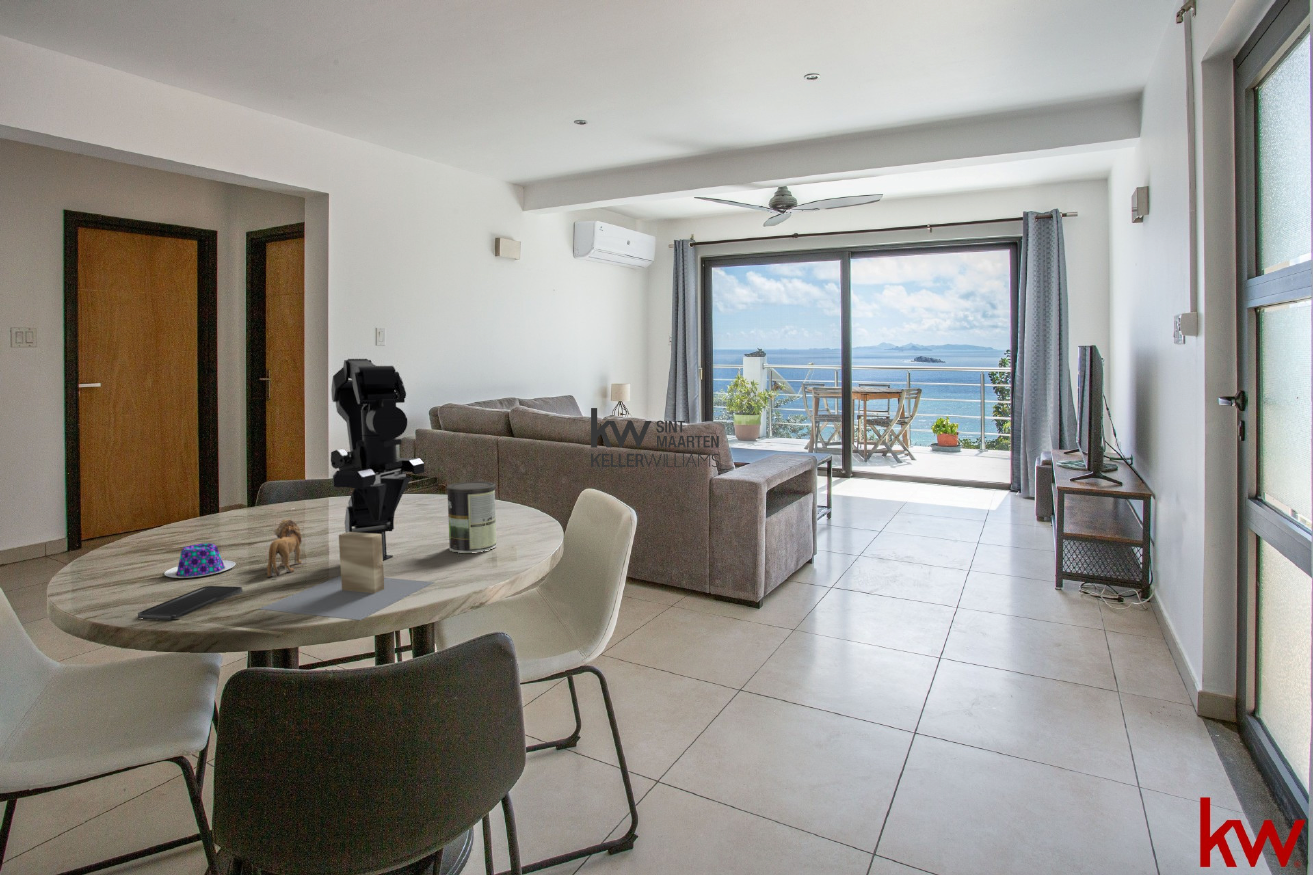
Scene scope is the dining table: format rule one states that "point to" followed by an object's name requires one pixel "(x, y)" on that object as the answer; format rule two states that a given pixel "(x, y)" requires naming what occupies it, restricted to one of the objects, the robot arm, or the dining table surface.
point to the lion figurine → (284, 546)
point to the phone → (189, 602)
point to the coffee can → (471, 516)
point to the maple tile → (361, 562)
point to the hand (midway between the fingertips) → (383, 517)
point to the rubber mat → (346, 599)
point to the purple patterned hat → (199, 562)
